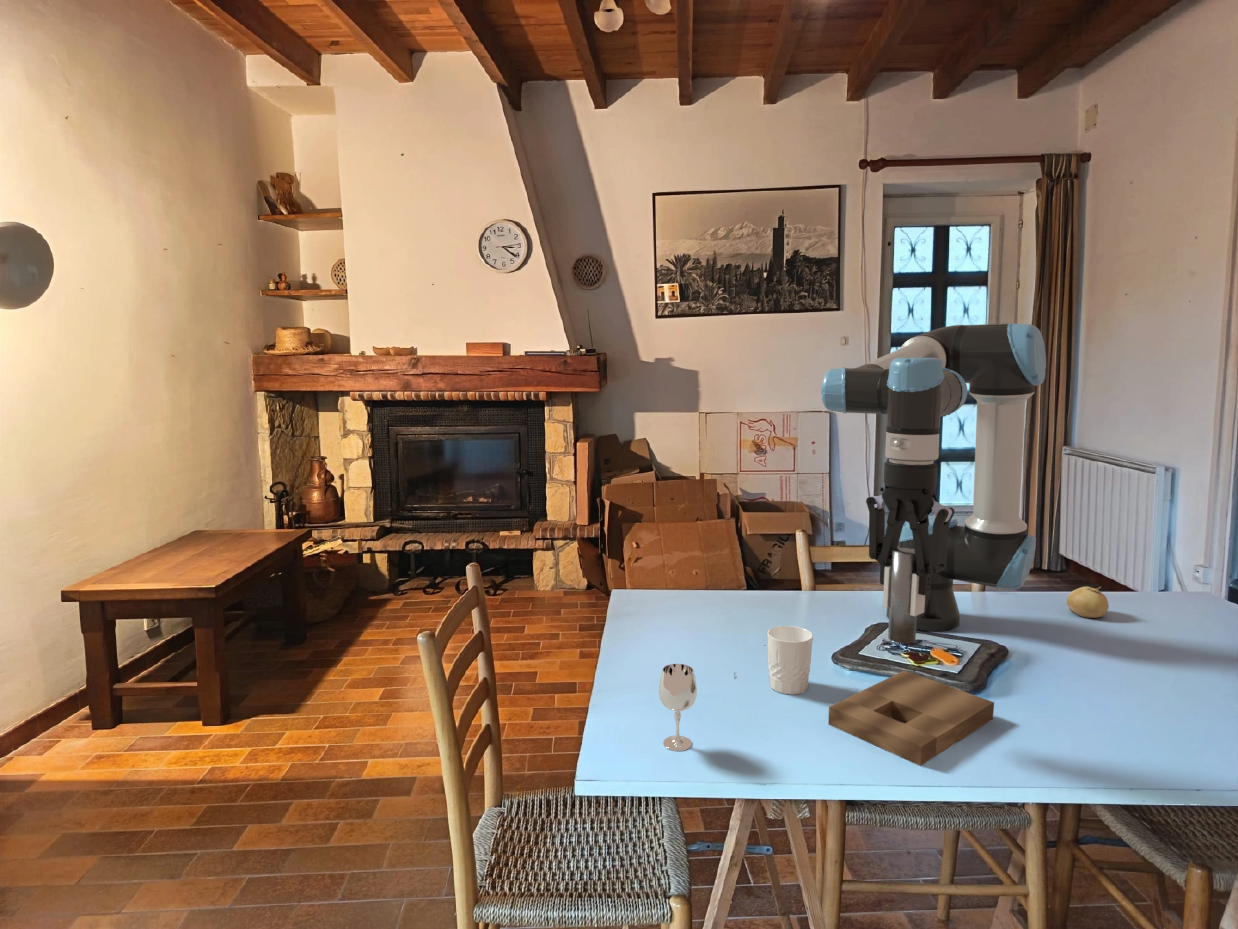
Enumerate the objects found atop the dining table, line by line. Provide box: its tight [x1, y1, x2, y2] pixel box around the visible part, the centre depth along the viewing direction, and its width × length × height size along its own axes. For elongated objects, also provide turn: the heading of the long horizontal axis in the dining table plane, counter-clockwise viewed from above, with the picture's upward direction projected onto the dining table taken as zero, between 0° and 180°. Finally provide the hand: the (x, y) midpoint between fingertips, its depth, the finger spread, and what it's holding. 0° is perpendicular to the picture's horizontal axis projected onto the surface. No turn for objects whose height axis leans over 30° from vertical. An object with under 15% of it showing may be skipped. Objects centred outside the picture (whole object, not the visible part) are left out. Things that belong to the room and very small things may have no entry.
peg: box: [887, 548, 917, 644], centre depth 117 cm, size 4×4×14 cm
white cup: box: [766, 625, 814, 695], centre depth 136 cm, size 8×8×10 cm
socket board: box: [827, 669, 995, 767], centre depth 123 cm, size 16×22×3 cm
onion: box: [1066, 586, 1109, 619], centre depth 171 cm, size 8×8×7 cm
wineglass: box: [658, 663, 698, 752], centre depth 116 cm, size 6×6×12 cm
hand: (903, 609), depth 118 cm, fingers closed on peg, 4 cm apart
